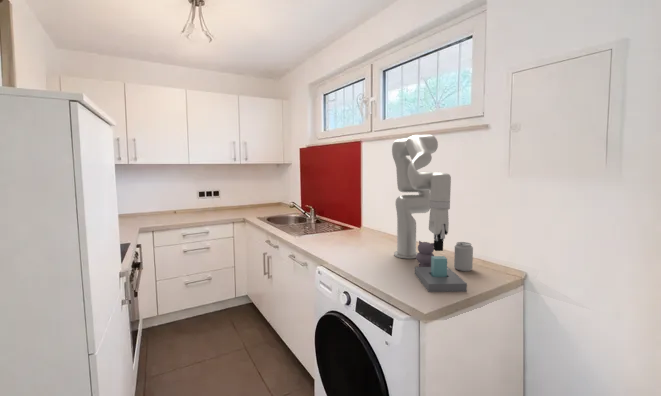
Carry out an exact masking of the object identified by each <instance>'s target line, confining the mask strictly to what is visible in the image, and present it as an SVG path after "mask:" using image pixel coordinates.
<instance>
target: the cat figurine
mask: <svg viewBox="0 0 661 396" xmlns="http://www.w3.org/2000/svg"><path fill="white" fill-rule="evenodd" d="M417 251H418V252H417V253H418V254H417V255H416V258H415V259H416V261H417V263H418V267H431V256H435V254H434V251H435V250H434V242H431V243H430V242H428V241H420V240H419V241H418V245H417Z"/></svg>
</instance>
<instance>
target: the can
mask: <svg viewBox="0 0 661 396" xmlns="http://www.w3.org/2000/svg"><path fill="white" fill-rule="evenodd" d="M473 257H474V247H473V246H472V243H470V242H467V241H458V242H456V244H455V245H454V262H453V267H454V269H456V271H459V272H471V271H472V270H473V264H474V263H473V262H474V261H473V259H474V258H473Z"/></svg>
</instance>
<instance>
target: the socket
mask: <svg viewBox="0 0 661 396" xmlns="http://www.w3.org/2000/svg"><path fill="white" fill-rule="evenodd" d="M414 276H416V278H417V279H418V280H419V281H420V283H421V284H422V285H423V287H424V288H425V290H427V292H428V293H435V292H438V293H439V292H440V293H444V292H446V293H447V292H448V293H450V292H452V293H455V292H456V293H457V292H458V293H459V292H467V290H468V289H467V286H468V283H467V282H466V281H465V280H463V278H462V277H460V275H457V273H455V272H454V271H453V270H452V269H451V268H449V266H447V277H432V276H431V267H419V266H414Z"/></svg>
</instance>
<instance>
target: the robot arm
mask: <svg viewBox="0 0 661 396" xmlns="http://www.w3.org/2000/svg"><path fill="white" fill-rule="evenodd" d="M438 147H439V141H438V139H437V138H436V136H434V135H433V134H414V135H411V136H408V137H407V138H401V139H400V138H399V139H396V140H394V141H393V143H392V146H391V153H392V154H391V155H392V158H393V162H394V164H395V167H396V168H395V169H396V182H397V183H396V184H397V190H398V191H399V192H401V193H418V194H403V195H399V196H398V197H396V199H395V210H396V219H397V220H396V221H397V223H396V224H397V227H396V232H397V233H396V236H397V239H396V241H397V242H396V243H397V245H396V251H394V252H393V254H394V257H396V258H398V259H406V260H407V259H410V260H412V259H416V255H417V254H418V253H419V252H417V221H416V219H415V218H414V217H413V214H426V213H428V212H429V218H428V219H429V220H428V230H429V231H430V232H431V233H432V234H433V243H434V251H435V252H442V251H444V240H445V239H446V236H447V235H448V234H449V229H450V228H449V224H450V223H449V210H450V209H451V188H452V187H451V186H452V184H451V183H452V176H451V174H449V173H446V172H445V173H444V172H442V171H418V170H421V169H423V168H425V167H427V166H428V165H429V164H430V163H431V162H432V157H433V155H432V154H434V153H436V152H437V150H438ZM407 156H408V157H407ZM409 156H410V159H411V160H410V159H409Z"/></svg>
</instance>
